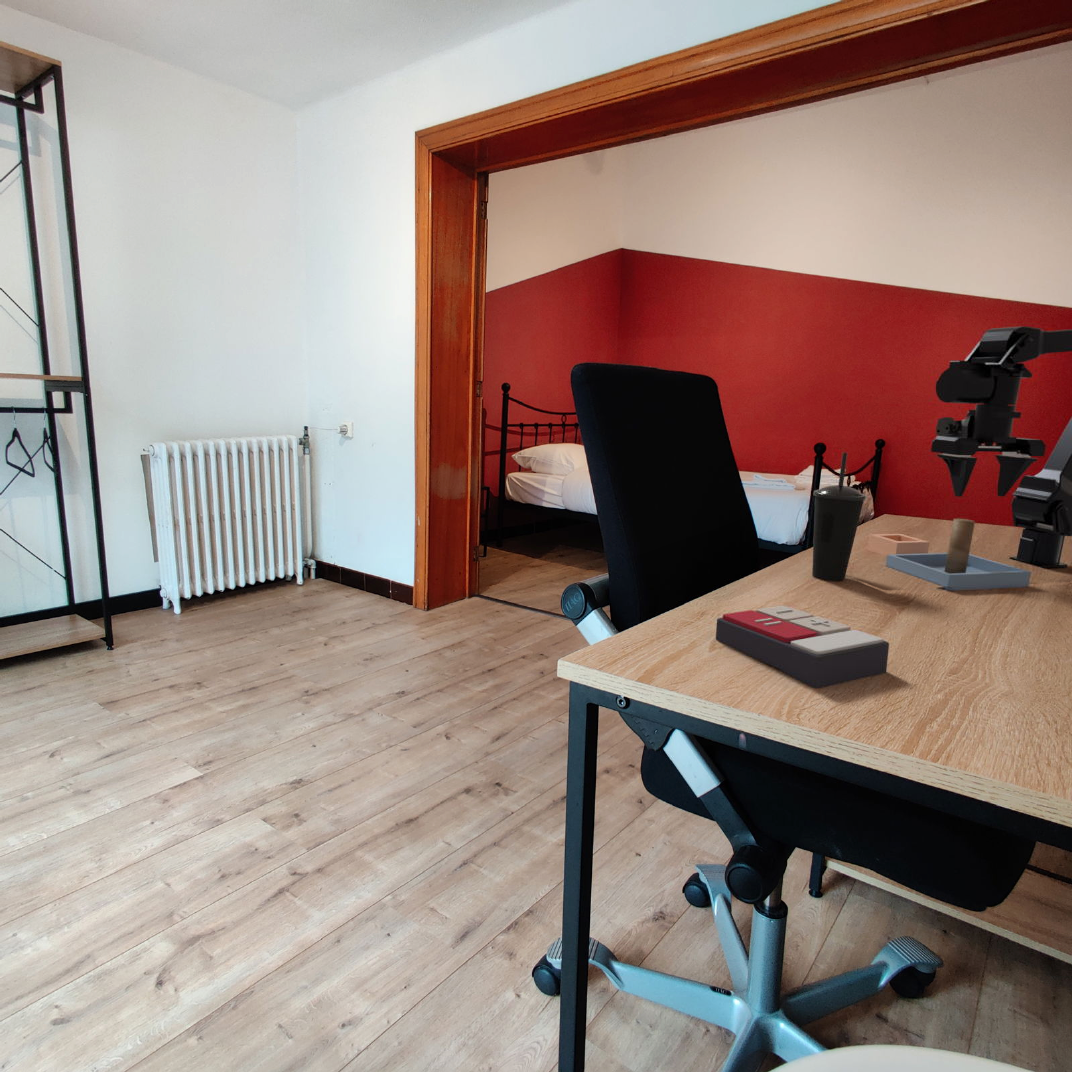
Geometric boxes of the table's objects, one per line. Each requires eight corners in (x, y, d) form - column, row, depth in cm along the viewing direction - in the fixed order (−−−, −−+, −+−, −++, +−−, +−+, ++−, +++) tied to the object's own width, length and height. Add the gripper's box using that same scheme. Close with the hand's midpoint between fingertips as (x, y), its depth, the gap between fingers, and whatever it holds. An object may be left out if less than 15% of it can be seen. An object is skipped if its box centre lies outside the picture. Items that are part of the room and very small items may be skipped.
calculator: (783, 602, 87) (892, 635, 74) (780, 635, 88) (888, 674, 75) (715, 611, 82) (819, 649, 69) (713, 647, 83) (815, 691, 70)
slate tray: (960, 565, 124) (962, 552, 124) (1028, 586, 112) (1031, 571, 111) (885, 568, 120) (887, 554, 119) (946, 590, 108) (949, 575, 107)
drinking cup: (862, 584, 109) (881, 456, 105) (813, 582, 109) (830, 454, 105) (842, 571, 117) (859, 451, 112) (796, 569, 117) (811, 449, 112)
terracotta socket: (897, 551, 134) (900, 533, 133) (926, 560, 127) (929, 542, 126) (866, 552, 132) (869, 534, 131) (894, 561, 125) (897, 542, 124)
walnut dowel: (954, 571, 118) (963, 518, 116) (969, 576, 115) (979, 522, 113) (940, 571, 117) (949, 518, 115) (954, 576, 114) (964, 522, 112)
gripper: (997, 404, 128) (982, 489, 131) (913, 401, 123) (899, 489, 126) (1056, 407, 117) (1038, 499, 121) (966, 403, 112) (950, 499, 116)
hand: (979, 496), depth 121 cm, fingers open, 9 cm apart
